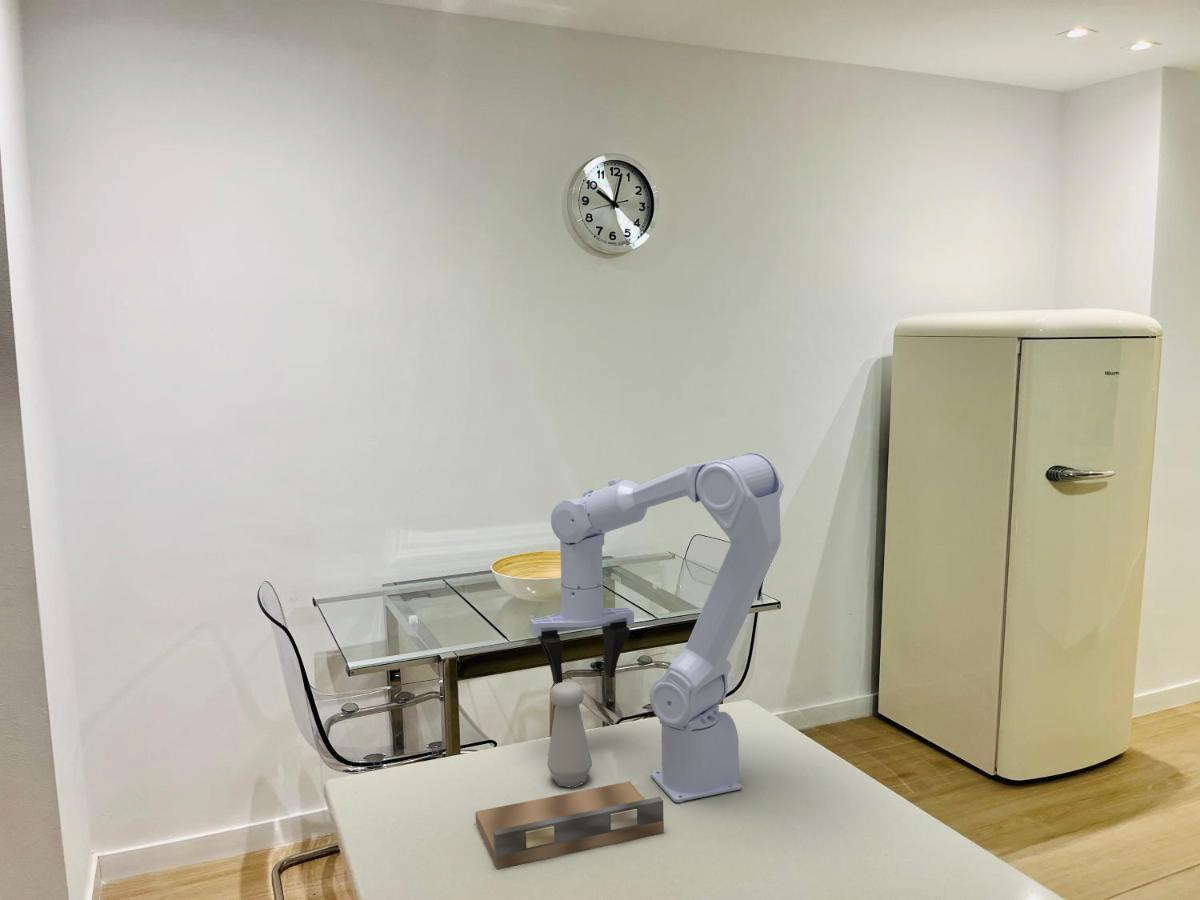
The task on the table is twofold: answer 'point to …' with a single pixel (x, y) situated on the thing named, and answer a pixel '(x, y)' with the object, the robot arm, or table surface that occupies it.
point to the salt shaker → (568, 737)
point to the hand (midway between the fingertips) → (583, 679)
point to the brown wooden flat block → (568, 823)
